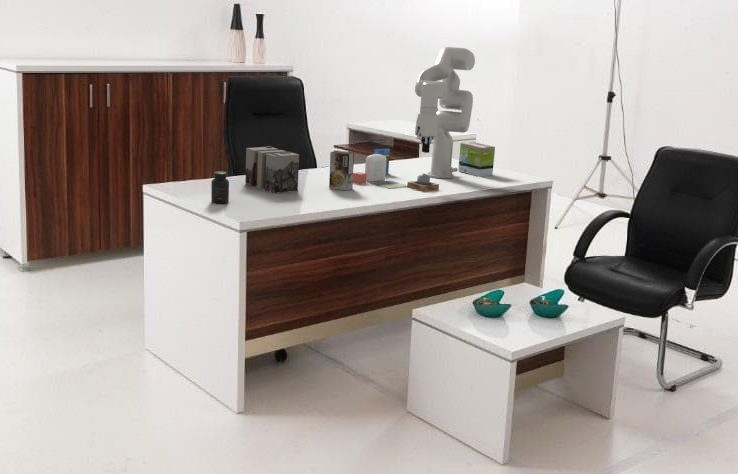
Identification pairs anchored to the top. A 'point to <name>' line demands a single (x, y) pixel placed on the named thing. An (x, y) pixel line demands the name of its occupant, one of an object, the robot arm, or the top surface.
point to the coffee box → (341, 170)
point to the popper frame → (423, 186)
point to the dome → (423, 179)
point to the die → (359, 178)
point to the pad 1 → (383, 182)
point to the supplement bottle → (220, 188)
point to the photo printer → (375, 167)
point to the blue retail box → (385, 153)
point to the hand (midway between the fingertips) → (425, 152)
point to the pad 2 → (394, 185)
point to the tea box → (476, 159)
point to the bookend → (272, 169)
